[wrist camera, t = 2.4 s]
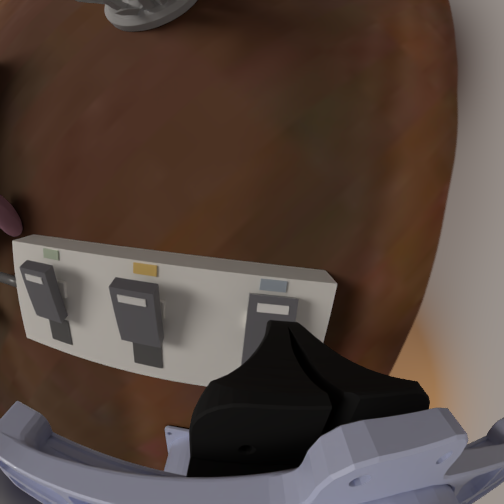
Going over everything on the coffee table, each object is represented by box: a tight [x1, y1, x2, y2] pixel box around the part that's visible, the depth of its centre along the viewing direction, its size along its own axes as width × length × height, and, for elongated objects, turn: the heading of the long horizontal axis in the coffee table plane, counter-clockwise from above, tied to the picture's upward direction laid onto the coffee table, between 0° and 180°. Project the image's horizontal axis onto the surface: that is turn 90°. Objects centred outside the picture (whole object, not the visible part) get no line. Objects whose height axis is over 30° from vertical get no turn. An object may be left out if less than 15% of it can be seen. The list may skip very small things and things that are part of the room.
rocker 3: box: [241, 293, 299, 365], centre depth 16 cm, size 4×3×1 cm, turn 173°
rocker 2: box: [109, 277, 164, 348], centre depth 16 cm, size 4×3×1 cm, turn 173°
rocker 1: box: [19, 260, 68, 323], centre depth 15 cm, size 4×3×1 cm, turn 173°
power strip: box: [0, 234, 337, 386], centre depth 19 cm, size 9×30×3 cm, turn 83°
